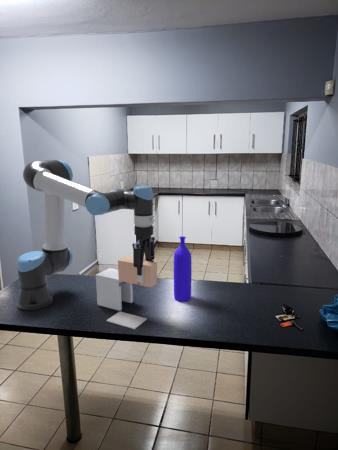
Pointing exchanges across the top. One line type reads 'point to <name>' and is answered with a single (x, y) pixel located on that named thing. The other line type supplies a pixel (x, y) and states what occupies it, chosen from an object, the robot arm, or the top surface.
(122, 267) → the wooden twin blocks
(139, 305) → the top surface
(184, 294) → the bottle
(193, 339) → the top surface
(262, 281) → the top surface
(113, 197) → the robot arm
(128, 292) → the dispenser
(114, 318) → the pad
